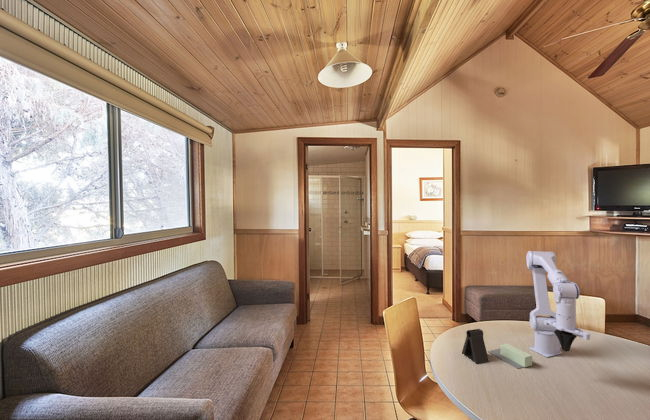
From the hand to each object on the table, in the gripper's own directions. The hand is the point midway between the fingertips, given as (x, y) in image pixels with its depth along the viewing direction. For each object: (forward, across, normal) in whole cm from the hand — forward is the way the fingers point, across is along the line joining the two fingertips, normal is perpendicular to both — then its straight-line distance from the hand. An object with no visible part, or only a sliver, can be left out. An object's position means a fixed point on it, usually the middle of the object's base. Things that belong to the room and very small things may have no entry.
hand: (565, 350), depth 110 cm
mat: (+10, -18, -6) cm, 21 cm away
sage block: (+8, -10, -6) cm, 14 cm away
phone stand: (+11, -23, -20) cm, 32 cm away
